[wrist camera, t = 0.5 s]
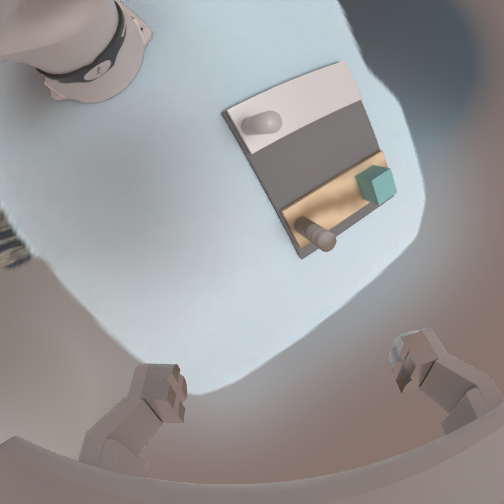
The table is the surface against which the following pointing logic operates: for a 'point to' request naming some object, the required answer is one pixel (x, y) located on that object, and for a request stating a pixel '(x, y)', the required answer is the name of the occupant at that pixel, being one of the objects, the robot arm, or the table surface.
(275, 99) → the pale board with post
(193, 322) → the table surface
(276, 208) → the lane mat
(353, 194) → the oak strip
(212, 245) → the table surface
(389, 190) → the teal block
